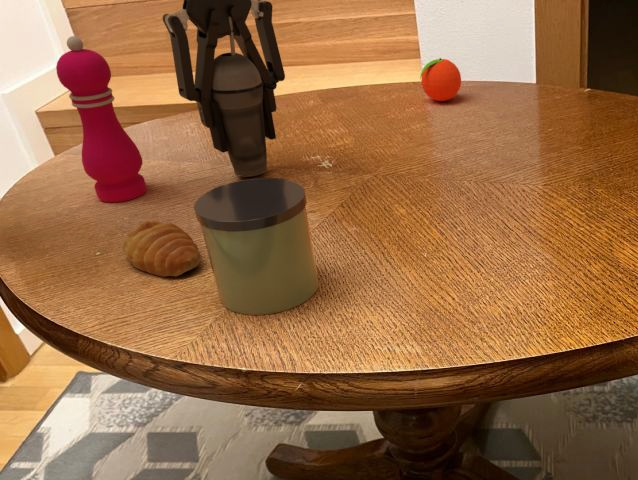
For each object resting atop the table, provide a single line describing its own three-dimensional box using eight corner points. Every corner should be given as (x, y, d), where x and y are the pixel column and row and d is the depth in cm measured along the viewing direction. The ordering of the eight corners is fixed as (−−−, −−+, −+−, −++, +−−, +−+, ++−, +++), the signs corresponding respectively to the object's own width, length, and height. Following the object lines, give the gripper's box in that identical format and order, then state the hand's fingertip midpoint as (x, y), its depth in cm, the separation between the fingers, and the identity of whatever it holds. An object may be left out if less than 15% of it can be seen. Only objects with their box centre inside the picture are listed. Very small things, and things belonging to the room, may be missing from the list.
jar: (201, 288, 76) (176, 198, 70) (289, 256, 81) (272, 169, 76) (246, 328, 69) (223, 232, 64) (339, 289, 75) (325, 197, 69)
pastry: (219, 263, 80) (211, 232, 78) (164, 288, 76) (153, 256, 74) (174, 241, 86) (165, 210, 84) (120, 263, 82) (109, 232, 80)
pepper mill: (83, 203, 96) (26, 43, 85) (113, 182, 102) (64, 30, 91) (132, 205, 95) (81, 43, 84) (160, 184, 101) (116, 29, 90)
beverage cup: (243, 159, 106) (214, 9, 95) (287, 164, 104) (262, 11, 93) (213, 177, 100) (178, 20, 89) (259, 182, 98) (229, 22, 87)
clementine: (434, 110, 124) (431, 66, 120) (410, 102, 128) (406, 60, 124) (470, 100, 128) (468, 57, 124) (445, 92, 132) (443, 51, 128)
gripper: (137, -36, 79) (188, 168, 92) (294, -54, 90) (321, 132, 102) (113, -41, 84) (165, 154, 97) (265, -57, 94) (294, 121, 107)
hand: (245, 142), depth 100 cm, fingers closed on beverage cup, 6 cm apart
